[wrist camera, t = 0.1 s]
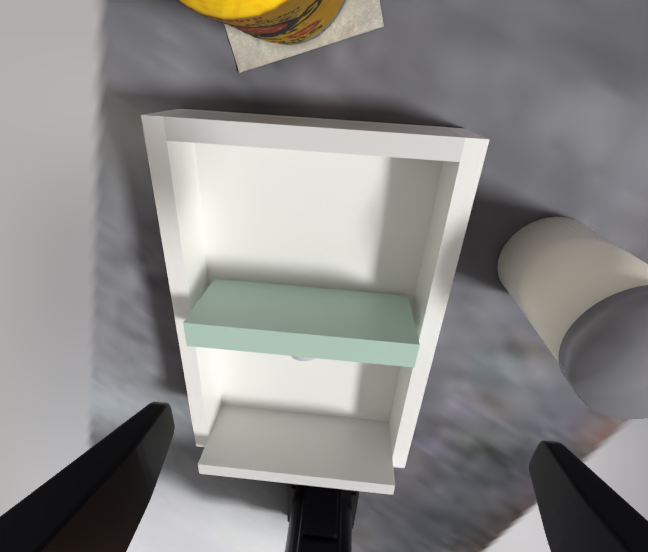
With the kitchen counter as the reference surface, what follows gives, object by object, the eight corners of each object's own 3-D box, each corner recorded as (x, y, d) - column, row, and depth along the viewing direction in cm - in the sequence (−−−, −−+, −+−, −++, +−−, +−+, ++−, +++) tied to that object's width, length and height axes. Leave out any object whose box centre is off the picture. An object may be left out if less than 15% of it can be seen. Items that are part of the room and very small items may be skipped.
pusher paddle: (399, 336, 24) (409, 390, 20) (218, 319, 24) (190, 368, 20) (407, 295, 22) (419, 344, 18) (214, 278, 23) (183, 322, 19)
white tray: (398, 421, 29) (408, 496, 24) (214, 403, 30) (184, 472, 25) (464, 128, 19) (506, 147, 14) (179, 108, 19) (114, 119, 14)
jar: (576, 305, 23) (694, 425, 15) (483, 297, 23) (551, 411, 15) (616, 218, 20) (786, 308, 12) (511, 210, 21) (611, 293, 13)
